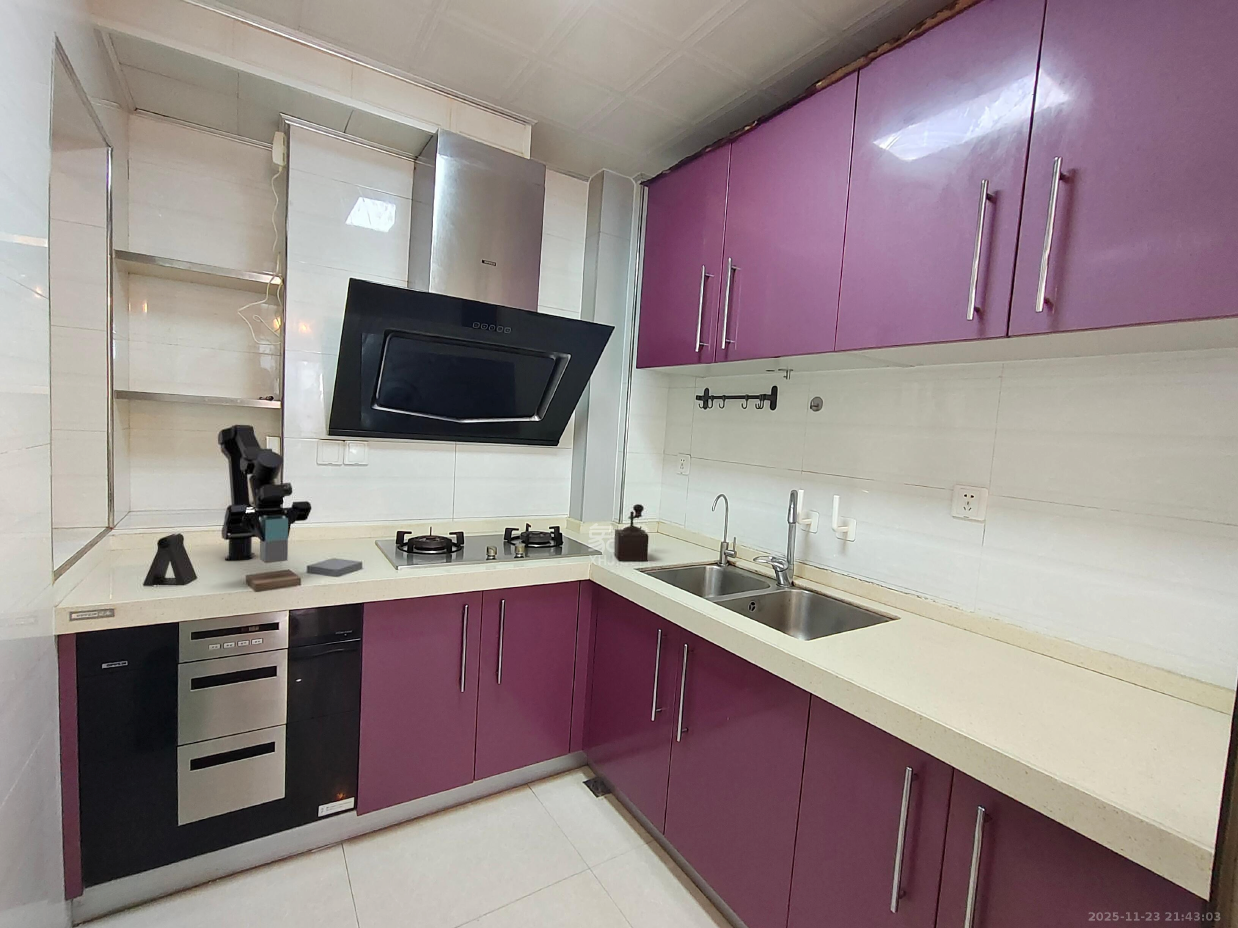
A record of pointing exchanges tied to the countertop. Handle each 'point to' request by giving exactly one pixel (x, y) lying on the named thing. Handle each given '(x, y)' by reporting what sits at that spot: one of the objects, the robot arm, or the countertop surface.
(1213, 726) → the countertop surface
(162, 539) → the phone stand
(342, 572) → the stand
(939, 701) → the countertop surface
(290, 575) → the stand
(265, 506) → the robot arm
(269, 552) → the block
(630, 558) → the manual coffee grinder
